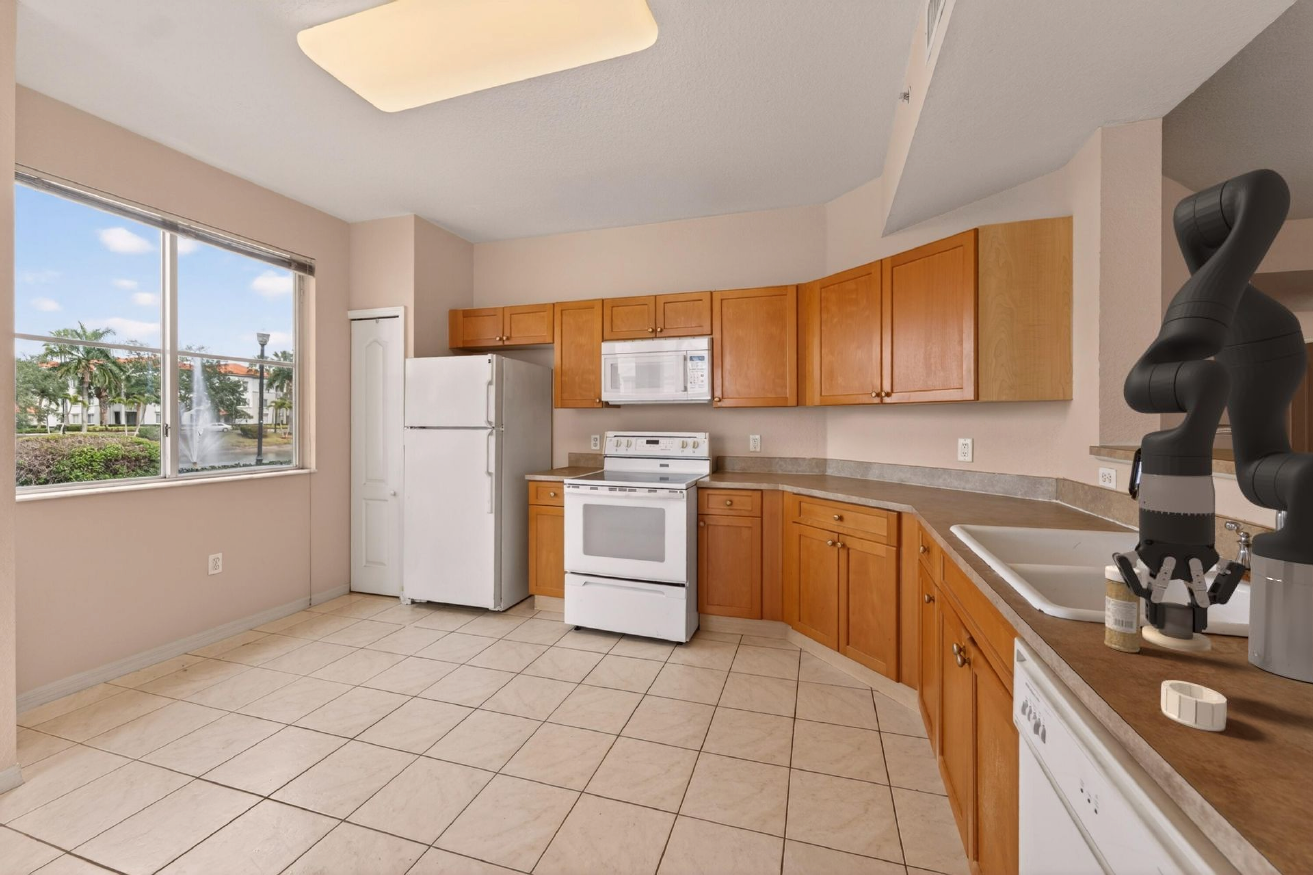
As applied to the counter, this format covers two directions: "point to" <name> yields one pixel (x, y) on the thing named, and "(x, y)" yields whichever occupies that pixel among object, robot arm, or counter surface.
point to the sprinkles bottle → (1121, 612)
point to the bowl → (1193, 705)
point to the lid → (1177, 630)
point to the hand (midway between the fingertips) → (1175, 628)
